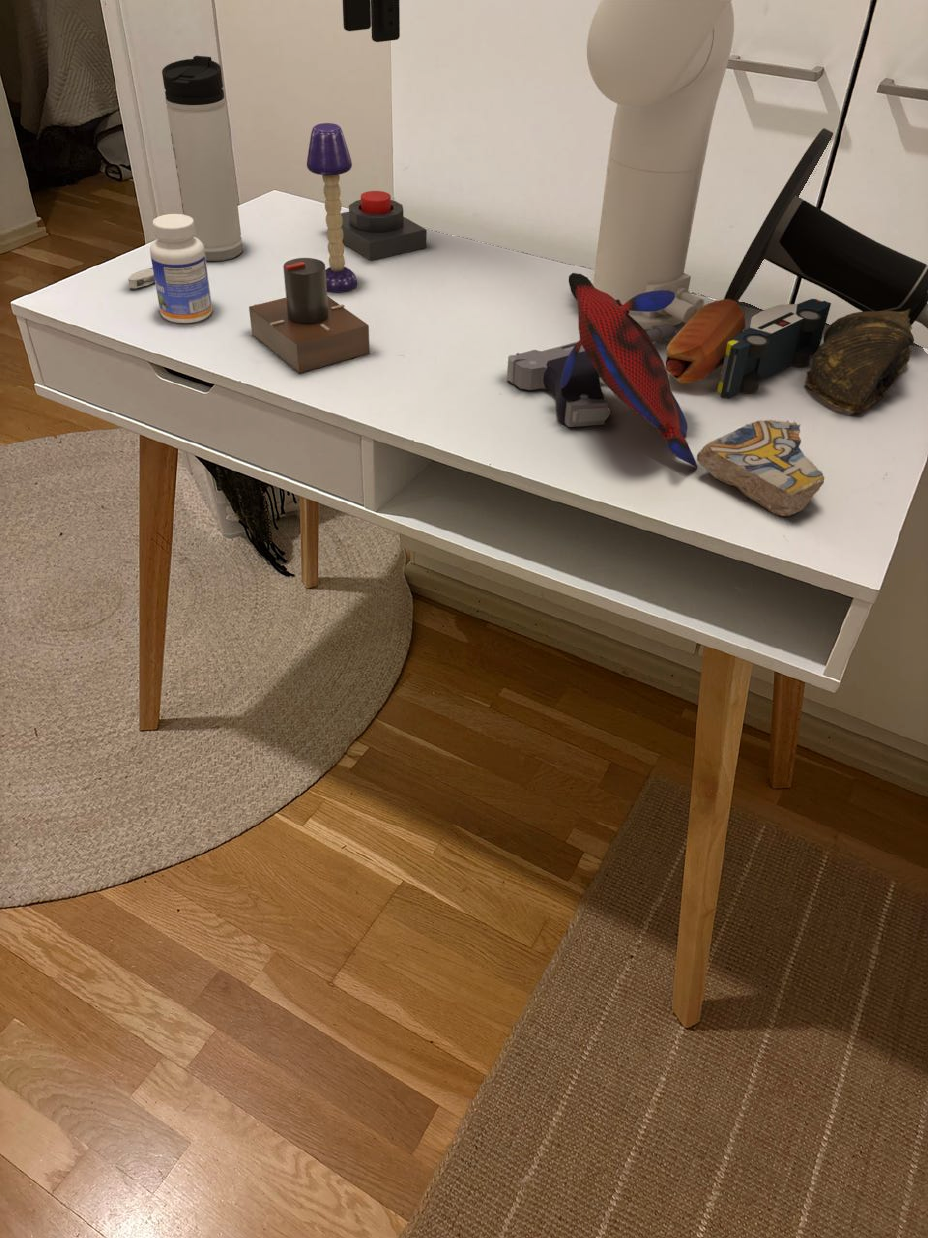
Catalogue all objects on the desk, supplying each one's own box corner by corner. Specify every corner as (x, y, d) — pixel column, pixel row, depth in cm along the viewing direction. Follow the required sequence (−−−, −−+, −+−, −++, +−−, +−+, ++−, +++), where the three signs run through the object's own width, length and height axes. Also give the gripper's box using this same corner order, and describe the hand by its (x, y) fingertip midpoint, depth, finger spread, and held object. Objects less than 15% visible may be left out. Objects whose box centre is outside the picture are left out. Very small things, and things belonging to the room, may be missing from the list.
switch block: (426, 247, 121) (426, 213, 118) (370, 260, 117) (369, 226, 115) (382, 221, 127) (381, 189, 124) (328, 233, 123) (326, 200, 121)
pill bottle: (161, 303, 107) (144, 211, 100) (212, 301, 108) (199, 209, 101) (160, 326, 103) (143, 231, 96) (213, 322, 104) (200, 228, 97)
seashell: (886, 423, 92) (897, 350, 88) (788, 409, 96) (795, 339, 92) (927, 356, 102) (939, 288, 98) (838, 346, 107) (845, 281, 103)
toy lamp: (354, 295, 110) (347, 133, 99) (312, 293, 110) (301, 131, 99) (359, 277, 114) (352, 119, 103) (318, 276, 114) (307, 117, 103)
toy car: (735, 403, 94) (693, 383, 97) (829, 354, 103) (788, 337, 105) (746, 353, 91) (702, 334, 94) (842, 307, 99) (799, 291, 102)
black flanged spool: (715, 323, 115) (910, 430, 112) (731, 273, 96) (965, 400, 93) (806, 174, 113) (1007, 279, 110) (840, 92, 94) (1084, 216, 91)
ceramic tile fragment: (853, 486, 78) (733, 492, 77) (841, 521, 80) (724, 527, 79) (792, 412, 87) (683, 416, 86) (782, 445, 89) (676, 449, 88)
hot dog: (720, 384, 93) (673, 398, 96) (760, 330, 102) (715, 345, 105) (700, 335, 91) (653, 351, 94) (743, 285, 100) (698, 301, 103)
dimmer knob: (315, 303, 101) (312, 251, 98) (335, 317, 99) (332, 265, 95) (280, 312, 99) (275, 259, 96) (300, 327, 97) (295, 273, 93)
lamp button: (396, 212, 120) (396, 197, 118) (371, 217, 118) (370, 202, 117) (380, 203, 122) (380, 188, 121) (355, 208, 120) (354, 193, 119)
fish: (607, 205, 81) (680, 270, 93) (494, 303, 87) (577, 353, 99) (715, 395, 75) (780, 439, 87) (585, 487, 80) (662, 516, 93)
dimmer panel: (370, 352, 100) (369, 323, 98) (298, 373, 96) (295, 343, 94) (321, 316, 106) (319, 287, 104) (250, 334, 102) (247, 304, 100)
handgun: (744, 360, 95) (663, 312, 103) (577, 410, 87) (503, 353, 95) (738, 384, 97) (659, 335, 105) (574, 435, 89) (501, 378, 97)
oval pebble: (159, 271, 114) (158, 261, 113) (176, 275, 113) (175, 265, 112) (121, 286, 109) (120, 275, 109) (138, 290, 109) (137, 280, 108)
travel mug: (252, 243, 120) (231, 57, 107) (230, 264, 115) (205, 72, 102) (203, 237, 121) (177, 52, 108) (180, 258, 116) (149, 66, 103)
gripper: (448, -175, 92) (445, 47, 104) (353, -187, 102) (360, 16, 114) (380, -175, 89) (384, 55, 101) (288, -187, 99) (302, 22, 111)
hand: (371, 32), depth 107 cm, fingers open, 5 cm apart
